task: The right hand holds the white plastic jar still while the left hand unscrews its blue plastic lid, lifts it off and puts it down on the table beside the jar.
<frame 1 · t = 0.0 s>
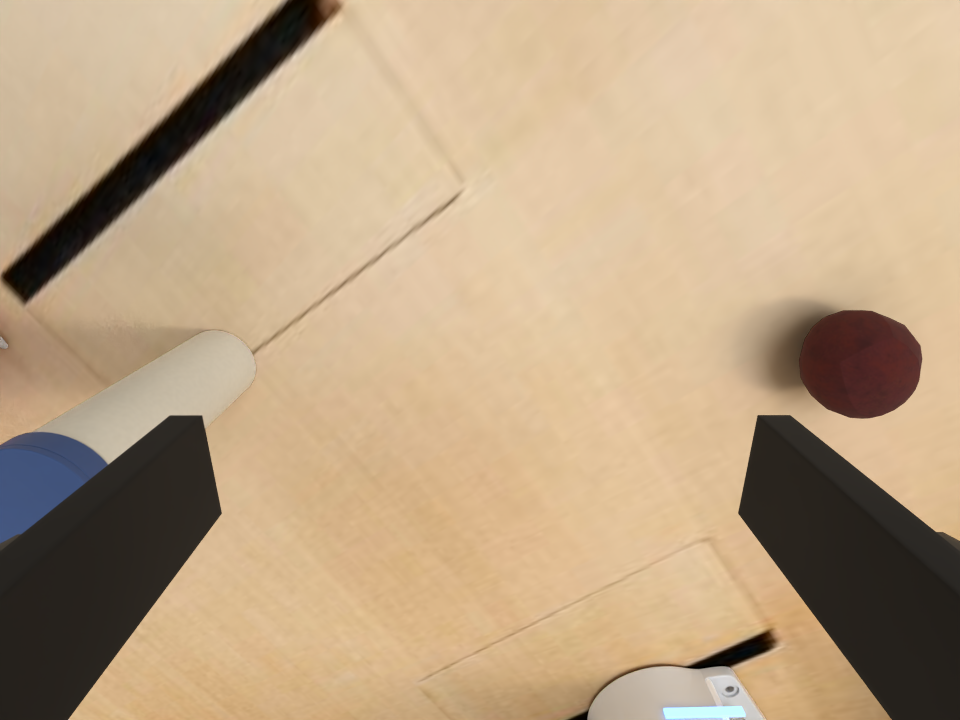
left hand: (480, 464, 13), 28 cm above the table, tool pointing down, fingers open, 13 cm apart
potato: (825, 345, 41), on the table
jar: (220, 363, 42), on the table
lid: (37, 502, 24), point 18 cm above the table, screwed on, not yet turned
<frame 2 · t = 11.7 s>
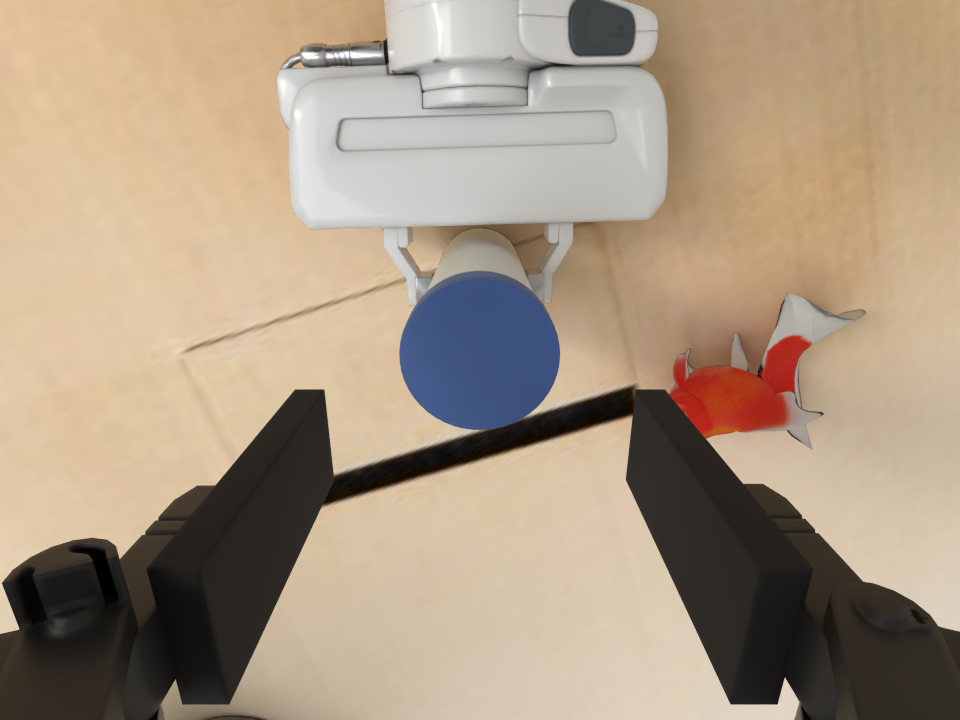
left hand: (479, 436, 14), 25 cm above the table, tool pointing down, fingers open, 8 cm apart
right hand: (481, 302, 32), fingers closed on jar, 5 cm apart
jar: (479, 268, 38), on the table, touching right hand
lid: (479, 355, 20), point 18 cm above the table, screwed on, not yet turned
fish: (733, 351, 40), on the table
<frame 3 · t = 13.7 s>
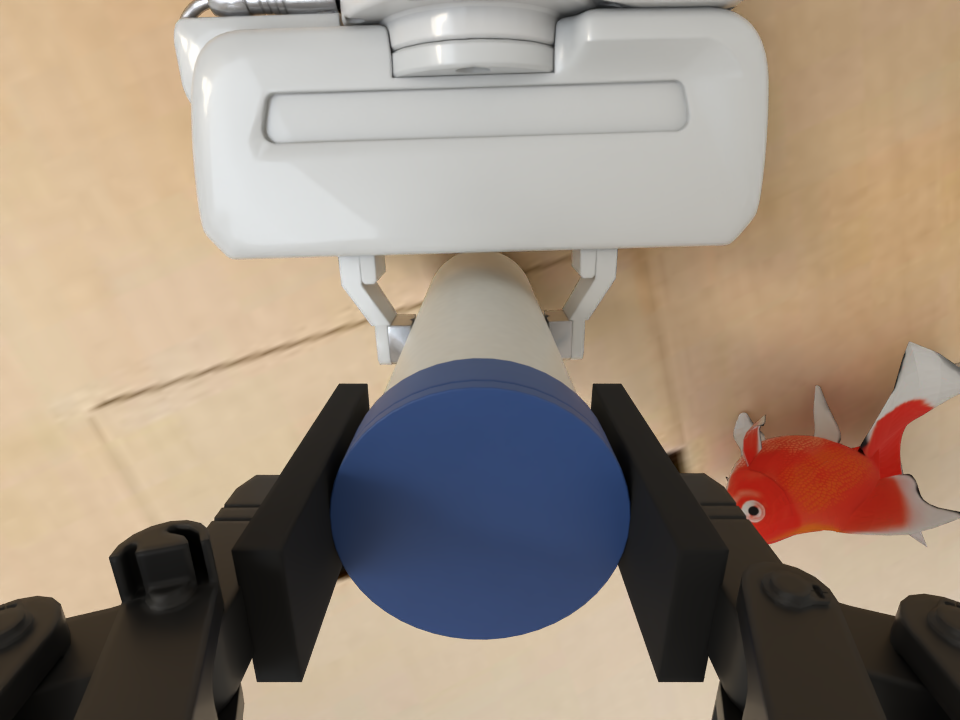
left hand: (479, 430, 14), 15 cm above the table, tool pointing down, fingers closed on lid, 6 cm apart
right hand: (481, 358, 23), fingers closed on jar, 5 cm apart
jar: (480, 302, 28), on the table, touching right hand
lid: (480, 515, 11), point 18 cm above the table, screwed on, not yet turned, touching left hand
fish: (810, 408, 30), on the table
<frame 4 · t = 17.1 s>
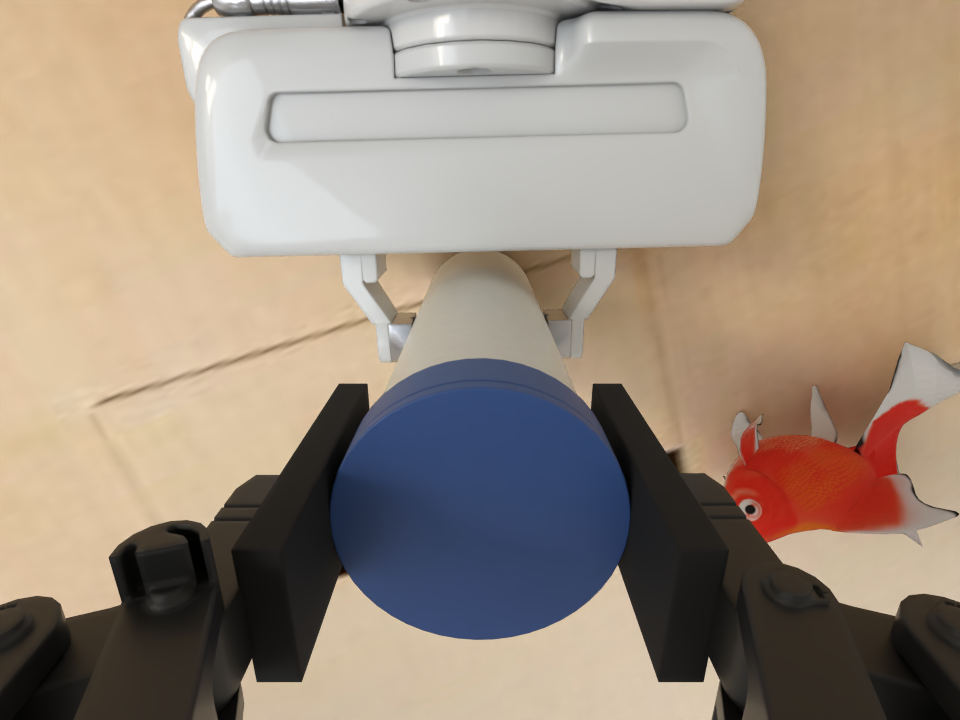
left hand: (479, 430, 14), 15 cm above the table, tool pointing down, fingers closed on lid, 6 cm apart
right hand: (481, 356, 23), fingers closed on jar, 5 cm apart
jar: (480, 301, 28), on the table, touching right hand
lid: (480, 515, 11), point 19 cm above the table, turned 116° so far, risen 0.2 cm, still on its thread, touching left hand
fish: (807, 408, 31), on the table
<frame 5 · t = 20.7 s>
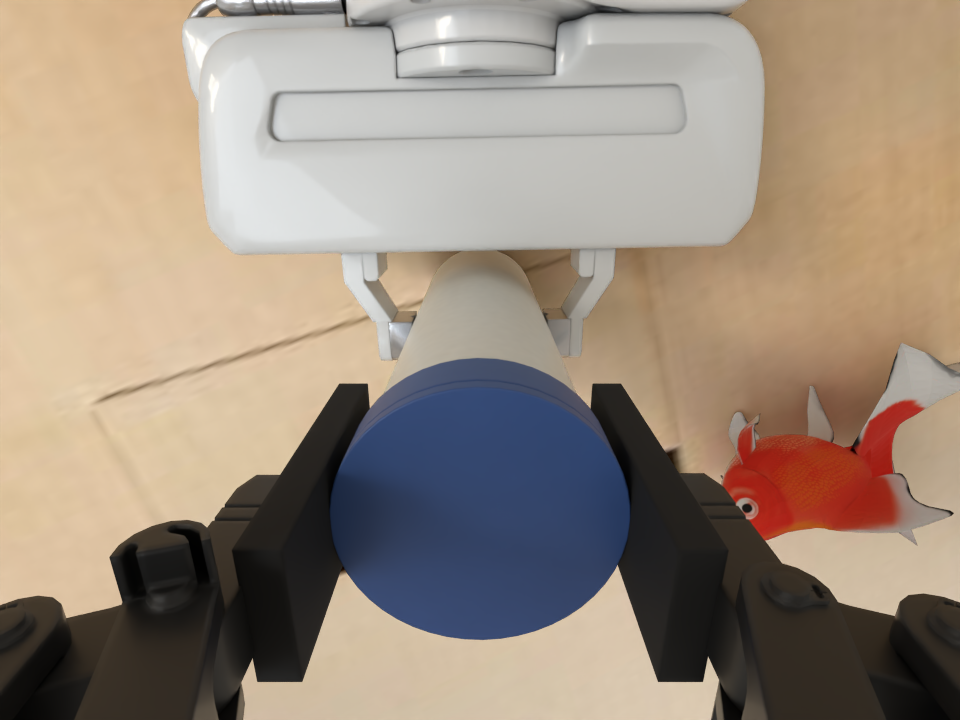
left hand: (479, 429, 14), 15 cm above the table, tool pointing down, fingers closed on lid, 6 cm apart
right hand: (481, 355, 23), fingers closed on jar, 5 cm apart
jar: (480, 300, 29), on the table, touching right hand
lid: (479, 515, 11), point 19 cm above the table, turned 232° so far, risen 0.4 cm, still on its thread, touching left hand
fish: (805, 408, 31), on the table
when the left hand's fingers open (0 cm above the table, at t = 30.6 s): lid drops 3 cm, point 1 cm above the table.
when the right hand's fingers open (6 cm above the table, at t = 31.3 s): jar stays where it is, on the table.
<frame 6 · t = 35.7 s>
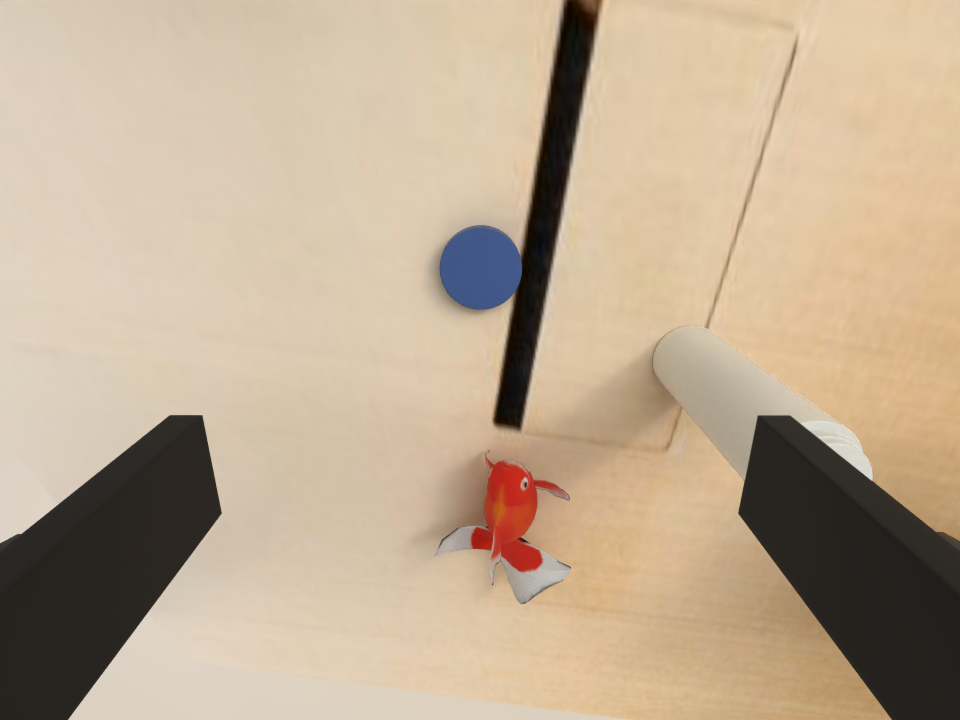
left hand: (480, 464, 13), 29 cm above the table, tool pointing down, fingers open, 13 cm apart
jar: (686, 358, 43), on the table
lid: (480, 268, 39), point 1 cm above the table, off its thread
fish: (510, 505, 48), on the table
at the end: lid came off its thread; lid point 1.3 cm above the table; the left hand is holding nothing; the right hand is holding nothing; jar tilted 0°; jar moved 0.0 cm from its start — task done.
